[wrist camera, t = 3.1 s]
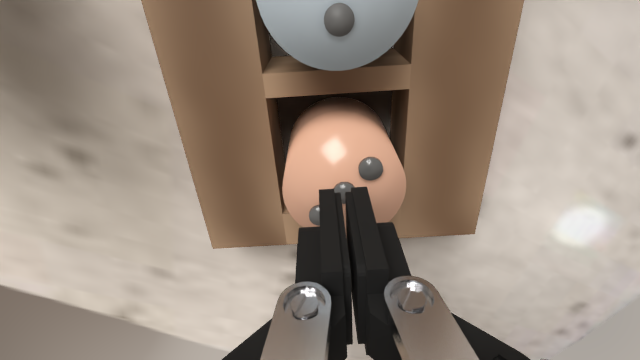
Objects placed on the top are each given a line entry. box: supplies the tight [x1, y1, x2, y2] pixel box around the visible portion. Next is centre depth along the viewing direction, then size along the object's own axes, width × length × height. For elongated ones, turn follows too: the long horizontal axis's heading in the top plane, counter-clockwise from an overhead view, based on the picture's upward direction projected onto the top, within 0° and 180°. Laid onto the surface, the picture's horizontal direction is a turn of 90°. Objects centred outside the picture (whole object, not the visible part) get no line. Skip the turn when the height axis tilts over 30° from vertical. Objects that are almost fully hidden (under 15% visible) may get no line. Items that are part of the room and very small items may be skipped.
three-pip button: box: [282, 97, 406, 230], centre depth 15 cm, size 5×5×5 cm
